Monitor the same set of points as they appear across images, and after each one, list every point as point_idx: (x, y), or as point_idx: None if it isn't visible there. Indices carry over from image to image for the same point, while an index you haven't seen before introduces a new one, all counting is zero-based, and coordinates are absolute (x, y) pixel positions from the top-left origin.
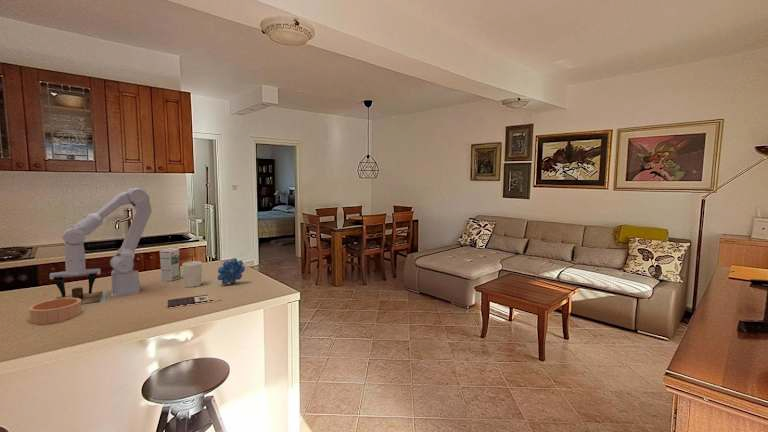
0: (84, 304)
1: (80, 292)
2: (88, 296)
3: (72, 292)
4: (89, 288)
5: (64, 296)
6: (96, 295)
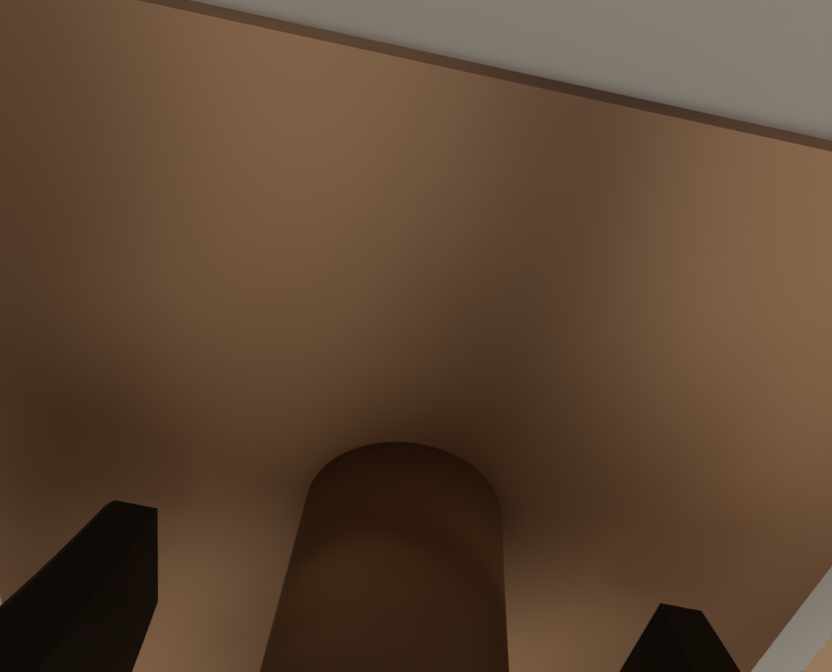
0: (306, 24)
1: (323, 594)
2: (215, 542)
3: (503, 666)
4: (49, 630)
5: (670, 612)
6: (72, 511)
